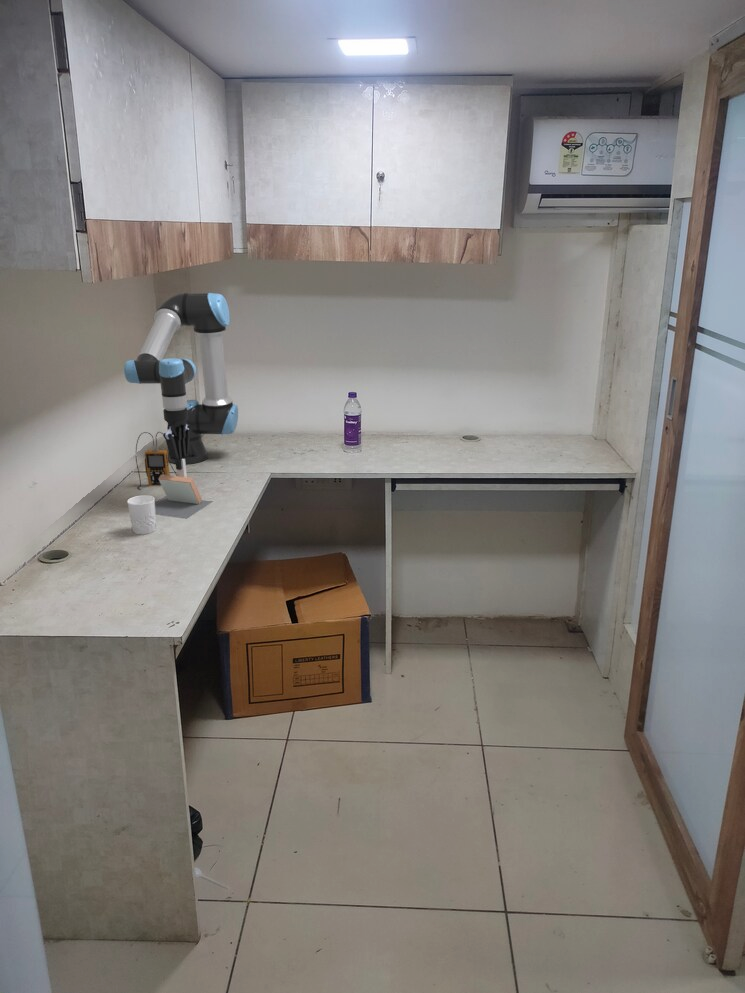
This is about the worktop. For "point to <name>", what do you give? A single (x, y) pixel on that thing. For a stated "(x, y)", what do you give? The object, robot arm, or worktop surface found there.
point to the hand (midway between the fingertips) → (182, 477)
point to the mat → (178, 508)
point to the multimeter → (155, 464)
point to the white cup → (142, 514)
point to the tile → (180, 489)
